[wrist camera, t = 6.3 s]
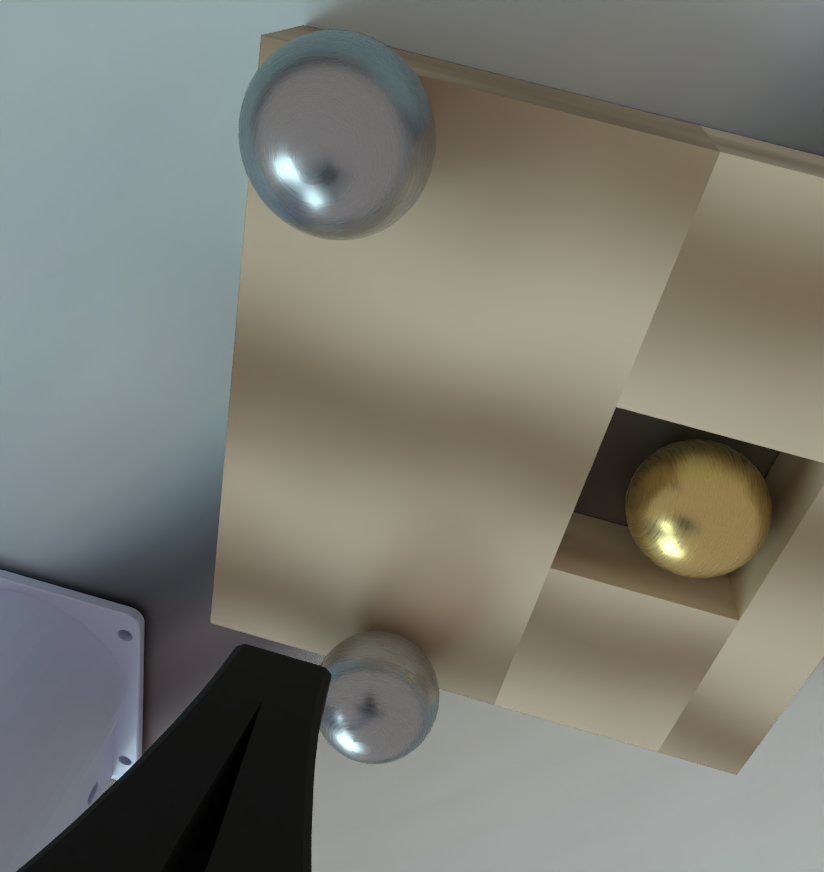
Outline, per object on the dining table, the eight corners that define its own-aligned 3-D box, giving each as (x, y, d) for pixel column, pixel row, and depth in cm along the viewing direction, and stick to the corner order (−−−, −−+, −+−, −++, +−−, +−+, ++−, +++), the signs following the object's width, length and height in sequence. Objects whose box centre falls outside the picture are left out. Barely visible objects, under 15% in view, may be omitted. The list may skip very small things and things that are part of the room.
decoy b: (428, 229, 15) (395, 289, 12) (267, 187, 15) (201, 237, 12) (468, 48, 13) (439, 70, 10) (286, 2, 13) (212, 12, 11)
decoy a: (433, 702, 22) (413, 806, 19) (324, 670, 22) (288, 770, 19) (459, 624, 20) (441, 727, 17) (341, 589, 20) (304, 686, 18)
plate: (722, 701, 23) (736, 774, 21) (242, 564, 24) (210, 622, 22) (1044, 212, 15) (1119, 253, 13) (303, 25, 16) (261, 35, 14)
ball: (742, 617, 18) (613, 592, 18) (710, 515, 20) (595, 491, 20) (822, 528, 16) (677, 498, 16) (776, 427, 18) (649, 398, 18)
